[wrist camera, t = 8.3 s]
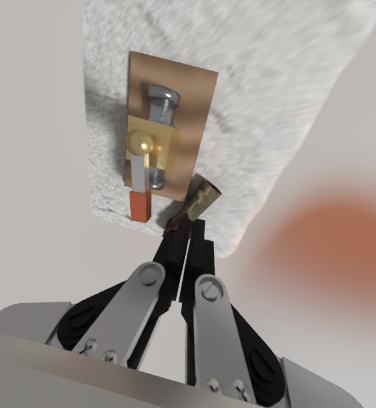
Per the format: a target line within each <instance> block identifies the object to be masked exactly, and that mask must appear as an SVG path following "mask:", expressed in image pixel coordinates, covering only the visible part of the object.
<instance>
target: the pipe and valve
mask: <svg viewBox="0 0 376 408" xmlns="http://www.w3.org/2000/svg"><path fill="white" fill-rule="evenodd" d="M148 97H149V98H150V108H149V117H148V120H145V119H141V118H137V117H133V116H130V115H128V128H127V133H128V132H129V131H131V130H139V131H143V132H147V133H150V134H151V135H153V137H154V138H155V140H156V150H155V151H154V153H152V154H150V155H149V189H150V190H162V189H164V187H165V182H166V181H165V180H164V176H165V171H166V169H168V168H170V167H172V166H173V165H175V160H176V155H177V150H178V145H179V140H180V135H181V132H180V131H179V130H177V129H175V128H173V125H174V119H175V114H176V108H178V107H179V104H180V99H181V96H180V94H178V93H177V92H176V91H174V90H172V89H170V88H167V87H165V86H161V85H157V84H150V85H149V92H148ZM126 159H127V160H131V154H130V152H129V151H128V150H127V148H126Z"/></svg>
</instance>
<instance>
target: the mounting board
mask: <svg viewBox="0 0 376 408" xmlns="http://www.w3.org/2000/svg"><path fill="white" fill-rule="evenodd" d="M217 78H218V72H214V71H210V70H206V69H202V68H198V67H194V66H190V65H186V64H182V63H178V62H174V61H170V60H166V59H162V58H158V57H154V56H150V55H146V54H142V53H138V52H134V51H131V67H130V86H129V105H128V115H130V116H133V117H137V118H141V119H145V120H148V117H149V108H150V98H149V97H148V92H149V85H150V84H157V85H161V86H165V87H167V88H170V89H172V90H174V91H176V92H177V93H178V94H180V96H181V99H180V104H179V107H178V108H176V114H175V119H174V125H173V128H175V129H177V130H179V131H180V132H181V135H180V140H179V145H178V150H177V155H176V160H175V165H173V166H172V167H170V168H168V169H166V171H165V176H164V180H165V181H166V182H165V187H164V189H162V190H151V193H152V194H156V195H159V196H163V197H166V198H170V199H173V200H177V201H180V202H184V203H185V201H186V197H187V193H188V190H189V186H190V182H191V178H192V174H193V170H194V166H195V163H196V159H197V155H198V151H199V147H200V143H201V139H202V136H203V132H204V128H205V124H206V120H207V116H208V113H209V109H210V105H211V101H212V97H213V93H214V89H215V86H216V82H217ZM127 128H128V124H127ZM124 186H128V187H131V188H132V174H131V160H127V159H126V162H125V181H124ZM149 190H150V189H149Z"/></svg>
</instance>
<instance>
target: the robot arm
mask: <svg viewBox="0 0 376 408" xmlns="http://www.w3.org/2000/svg"><path fill="white" fill-rule="evenodd" d="M191 222H192V220H190V219H189V217H185V216H181V219H180V221H179V224H178V227H177V229H176V232H175V233H171V232H166V234H165V236H164V238H163V240H162V242H161V244H160V246H159V248H158V250H157V252H156V255H155V257H154V259H153V261H152V262H146V263H143V264H141V265H140V266H139V267H138V268H137V269H136V270H135V271H134V272H133V273H132V275H131V276H130V277H129V279H128V280H126V281H124V282H122V283H119V284H117V285H115V286H113V287H111V288H109V289H106V290H104V291H102V292H100V293H98V294H95V295H93V296H91V297H89V298H87V299H85V300H82V301H81V302H79V303H77V304H71V302H50V303H49V302H48V303H47V302H44V303H19V304H14V305H11V306H9V307H6V308H4V309H2V310H1V311H0V408H363V407H362V405H361V404H360V403H359V402H358V401H357V400H356V399H355V398H354V397H353V396H352V395H351V394H349V393H348V392H346V391H345V390H343V389H342V388H340V387H338V386H337V385H335V384H333V383H331V382H329V381H327V380H326V379H324V378H322V377H320V376H318V375H316V374H314V373H313V372H311V371H309V370H307V369H305V368H303V367H301V366H299V365H297V364H296V363H294V362H292V361H290V360H288V359H286V358H285V357H282V358H279V357H277V356H275V354H274V353H273V352H272V350H271V349H270V348H269V347H268V346H267V344H266V343H265V342H264V341H263V340H262V339H261V338H260V336H259V335H258V334H257V333H256V332H255V331H254V330H253V328H252V327H251V326H250V325H249V324H248V323H247V322H246V320H245V319H244V318H243V317H242V316H241V315H240V314H239V312H238V311H237V310H236V309H235V308H234V307H233V306H232V304H231V303H230V300H229V296H228V293H227V290H226V287H225V285H224V283H223V282H222V281H221V280H220V279H219V278H218V277H216V276H215V266H214V242H213V241H210V240H205V239H204V231H205V220H201V219H197V221H195V220H194V224H193V229H192V234H191V239H190V244H189V249H188V254H187V259H186V264H185V270H184V275H183V280H182V286H181V291H180V297H179V302H181V303H182V308H181V314H182V316H183V317H184V319H185V321H186V337H185V340H186V341H185V384H183V383H179V382H176V381H172V380H169V379H165V378H162V377H159V376H155V375H152V374H148V373H145V372H141V371H139V369H140V366H141V364H142V361H143V359H144V357H145V354H146V352H147V350H148V347H149V345H150V342H151V340H152V338H153V335H154V333H155V330H156V328H157V325H158V323H159V321H160V318H161V315H162V314H164V313H165V312H167V311H168V310H169V307H171V302H172V300H173V301H176V297H177V292H178V288H179V283H180V278H181V274H182V269H183V264H184V260H185V255H186V250H187V245H188V239H189V233H190V227H191Z"/></svg>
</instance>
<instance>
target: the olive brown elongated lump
mask: <svg viewBox="0 0 376 408" xmlns="http://www.w3.org/2000/svg"><path fill="white" fill-rule="evenodd" d="M221 194H222V193H221V192H220V191H219V190H218V189H217V188H216V187H215V186H214V185H213V184H211V183H210V182H209V181H207V180H204V181H203V182H202V184H201V185H200V186H199V188H198V189H197V190H196V192H195V193H194V194H193V195H192V197H191V198H190V199H189V201H188V202H187V203H186V204H185V205H184V207H183V208H182V209H181V210H180V211H179V213H178V214H177V215H176V216H175V217H174V218H173V219H169V220H168V222H167V224H166V229H165V230H164V232H163V235H162V237H163V238H164V236H165V234H166V232H171V233H175V232H176V229H177V227H178V224H179V221H180V219H181V216H185V217H189V219H190V220H192V222H191V227H190V233H189V238H191V234H192V229H193V224H194V220H195V221H197V218H198V217H199V216H200V215H201V214H202V213H203V212H204V211H205V210H206V209H207V208H208V207H209V206H210V205H211V204H212V203H213V202H214V201H215V200H216V199H217V198H218V197H219V196H220V195H221ZM188 240H189V239H188Z"/></svg>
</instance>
